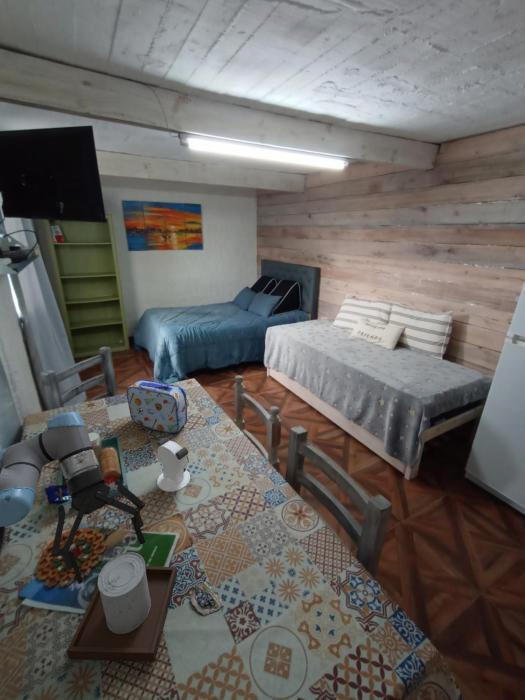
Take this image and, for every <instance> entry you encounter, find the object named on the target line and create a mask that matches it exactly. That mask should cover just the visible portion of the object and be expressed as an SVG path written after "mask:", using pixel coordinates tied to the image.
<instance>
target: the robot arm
mask: <svg viewBox="0 0 525 700" xmlns="http://www.w3.org/2000/svg"><path fill="white" fill-rule="evenodd" d="M46 428H47V430H46V429H45V430H44V431H43V432H41V433H38V434H35V435H33V436H31V437H29V438H27V439H25V440H22V441H19V442H17V443H14V444H12V445H10V446H7V447H6V448H4V449H3V450H0V528H3V527H10V526H13V525H16V524H18V523H20V522H21V521H22V520H24V519H25V518H26V517H27V516H28V515H29V513H30V512H31V510H32V506H33V504H34V503H35V502H34V501H35V499H36V497H37V489H38V485H39V482H40V478H41V475H42V472H43V469H44V466H47V465H48V464H51V463H53V462H55V461H57V460H58V462H59V465H60V469H61V471H62V474H63V477H64V479H65V480H67V481H66V483H65V484H66V486H67V490H68V493H69V496H70V500H71V501H70V503H69V502H68V503H66V504H61V505H59V506H58V507H57V516H58V519H57V520H58V521H57V524H56V529H55V534H54V538H53V544H52V548H51V553H50V556H51V557H52V558H56V557H62V558H63V561H64V565H65V569H66V570H67V571H71V570H72V569H73V571H74V575H75V578H76V581H77V583H78V585H81V584H82V583H83V582H84V580H83V577H82V573H81V570H80V567H79V564H78V560H77V557H76V555H75V551H74V550H71V551H70V549H71V547H72V544H73V542H74V539H75V537H76V534H77V533H78V529H79V528H80V525H81V522H82V521H83V519H84V516H85V515H90V514H92V513H94V512H95V511H97V510H101V509H102V508H103V507H105V506H106V505H107V506H110V507H113V508H116V509H118V510H120V511H122V512H125V513H127V514H130V515H132V517H130V521H131V524H132V526H133V529H134V532H135V534H136V537H137V541H138V543H139V545H144V544H146V540H145V537H144V534H143V531H142V528H143V527H144V526H145V525H144V524H145V523H144V520H143V517H142V515H141V511H143V509H144V508H145V507H146V503H145V502H144V501H143V500H142V499H141V498H139V497H138V496H137V495H136V494H134V493H133V492H132V491H131V490H129V489H128V488H127V487H126V486H124V484H123V482H122V480H121V479H120V478H117V479H115V480H114V481H113V482H111V483H110V484H108V483H107V482H106V480H105V477H104V474H103V471H102V469H101V467H99V465H100V464H99V460H98V458H97V455H96V452H95V449H94V447H93V444H92V442H91V438H90V436H89V432H88V429H87V425H86V424H85V422H84V420H83V417H82V415H81V414H80V412H77V411H74V410H72V411H66V412H61V413H59V414H57V415H54V416H53V417H52V418H50V419H48V420H47V422H46ZM111 490H114V491H117V492H119V493H120V494H121V495H122V496H123V497H124V498H125V499H127V500H128V501H129V502H130V503H132V504H133V505H134V506H131V505H130V504H127V503H125V502H122V501H120V500H117V499H115V498H114V497H112V496H109V495H110V492H111ZM71 508H72V509H73V510H75V511H77V514H76V516H75V519H74V520H73V521H74V522H73V524H72V526H71V529H70V531H69V533H68V536H67V538H66V540H65V543H64V545H63V547H62V548H60V546H61V541H62V537H63V532H64V531H63V530H64V526H65V521H66V516H67V515H68V514H69V512H70V509H71Z"/></svg>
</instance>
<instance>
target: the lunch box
mask: <svg viewBox="0 0 525 700" xmlns="http://www.w3.org/2000/svg"><path fill="white" fill-rule="evenodd" d="M126 398H127V404H128V409H129V415H130V418H131V420H132V421H133V422H134V423H136V424H138V425H140V426H143V427H146V428H148V429H151V430H153V431H158V432H163V433H167V434H177V433H178V432H179V431H181V429H182V428H183V426H184V425H186V424H187V422H188V407H189V406H190V402H189V399H188V398H187V393H186V391H185V389H184V388H182V387H181V386H180V385H179V386H178V385H176V384H175V385H174V384H169V383H164V382H161V381H155V380H150V379H144V378H140V379H138V380H137V381H136V382H135V383H134V384H132V385H130V386H128V387H127V388H126Z"/></svg>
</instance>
